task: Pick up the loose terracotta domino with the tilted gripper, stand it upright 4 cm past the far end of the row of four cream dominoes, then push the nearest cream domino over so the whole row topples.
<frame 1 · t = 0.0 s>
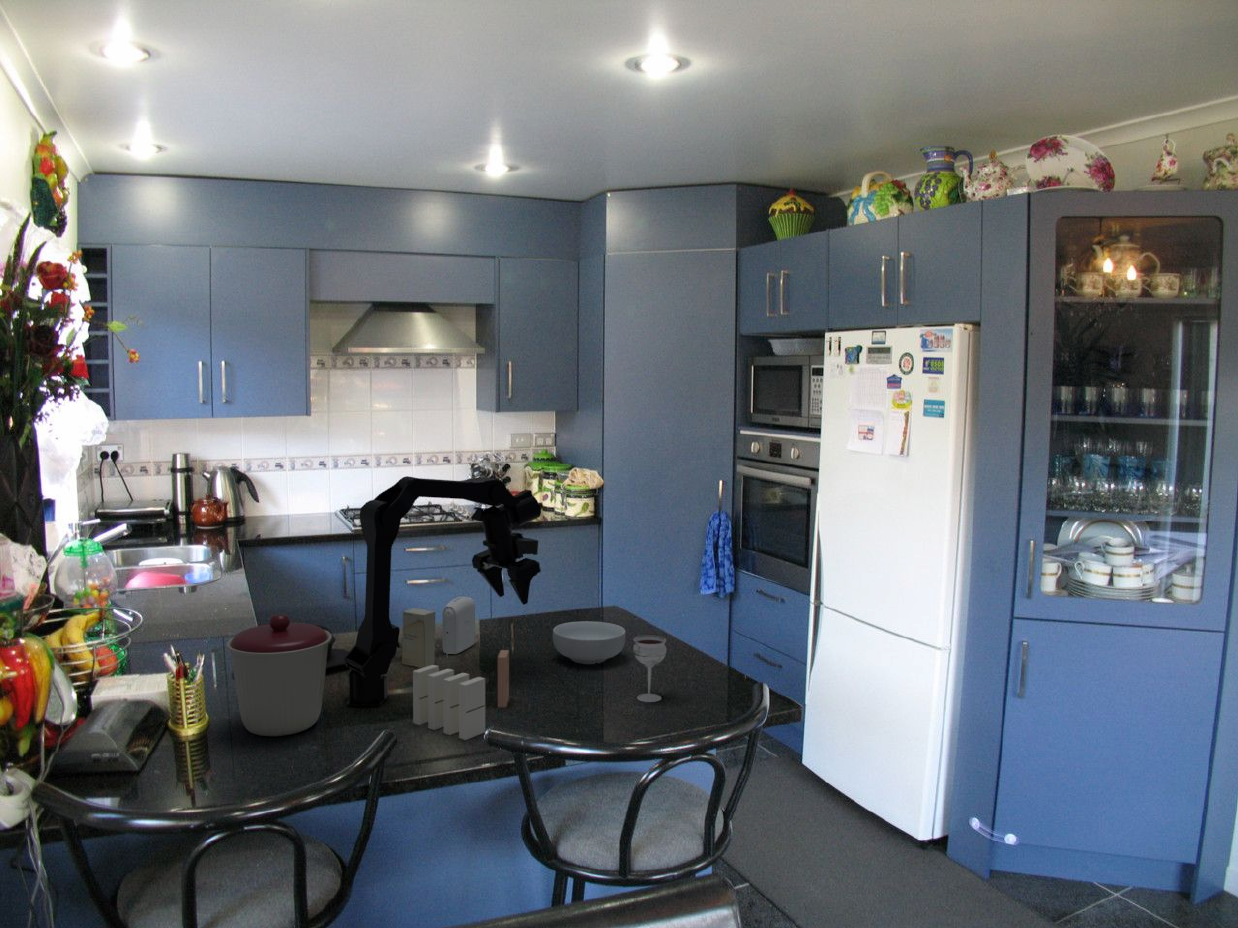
hand: (513, 599, 210), 15 cm above the table, tool pointing down, fingers open, 9 cm apart
canister: (281, 727, 175), on the table
domino 2: (441, 725, 177), on the table
skincare box: (419, 664, 214), on the table
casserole: (295, 670, 209), on the table
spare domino: (503, 702, 189), on the table
photo printer: (459, 649, 226), on the table
cereal bowl: (589, 660, 219), on the table
domino 3: (456, 729, 175), on the table
domino 4: (472, 734, 172), on the table
domino 1: (426, 720, 179), on the table
wineglass: (649, 698, 193), on the table
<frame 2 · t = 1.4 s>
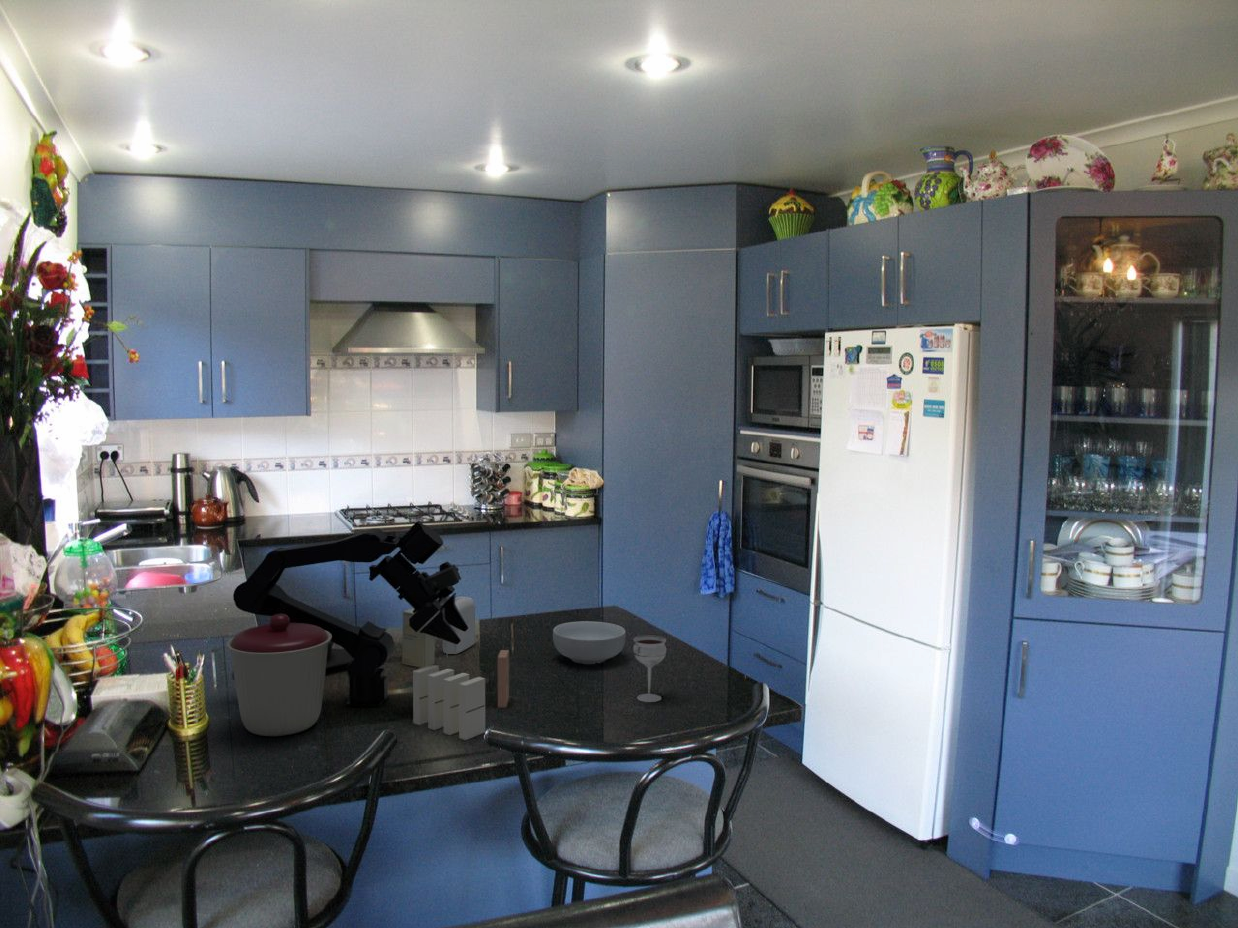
hand: (463, 636, 188), 13 cm above the table, tool tilted 45°, fingers open, 9 cm apart
nothing on the table moved.
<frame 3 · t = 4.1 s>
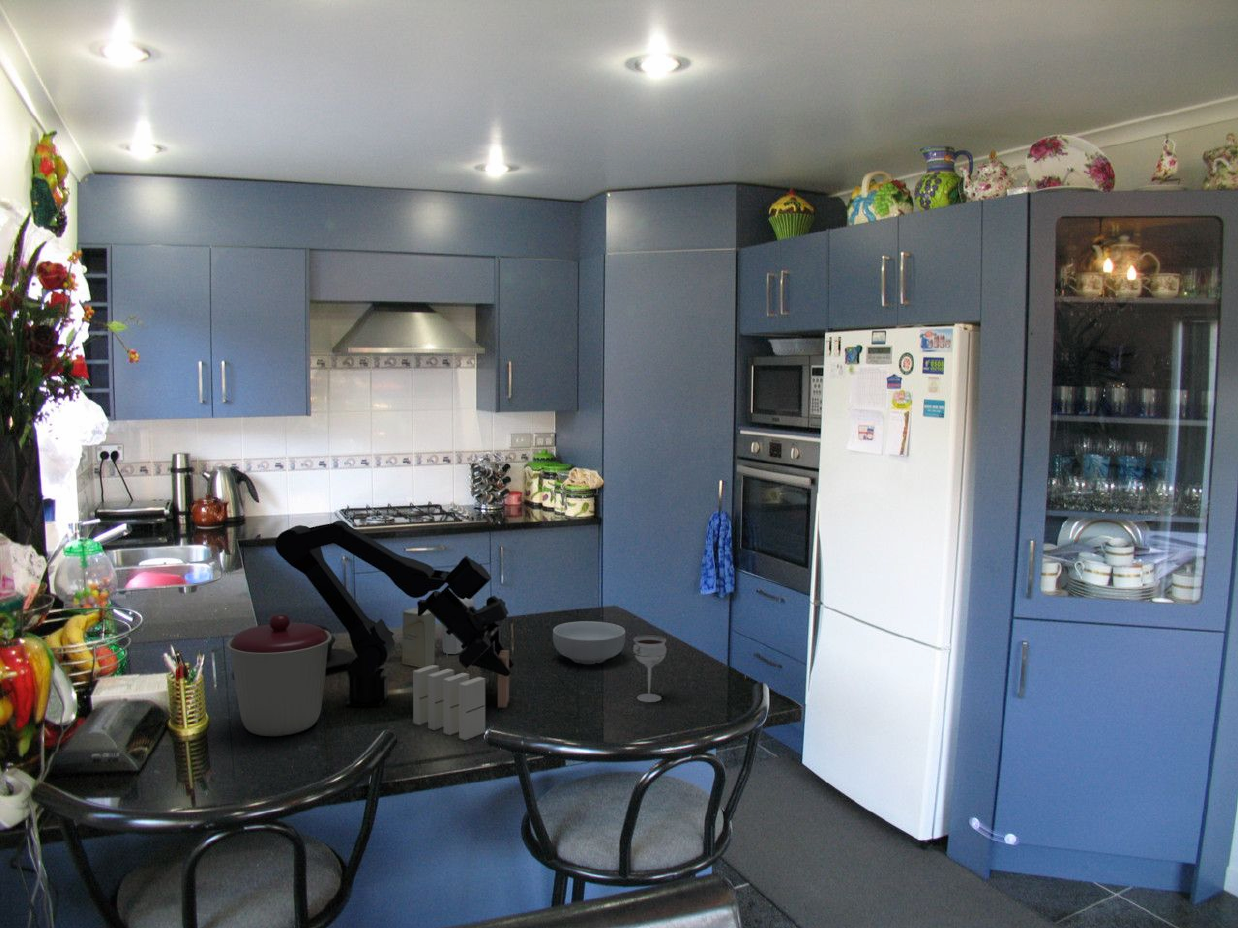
hand: (510, 670, 189), 7 cm above the table, tool tilted 45°, fingers closed on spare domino, 5 cm apart
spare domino: (503, 702, 189), on the table, touching gripper
everything else where it was.
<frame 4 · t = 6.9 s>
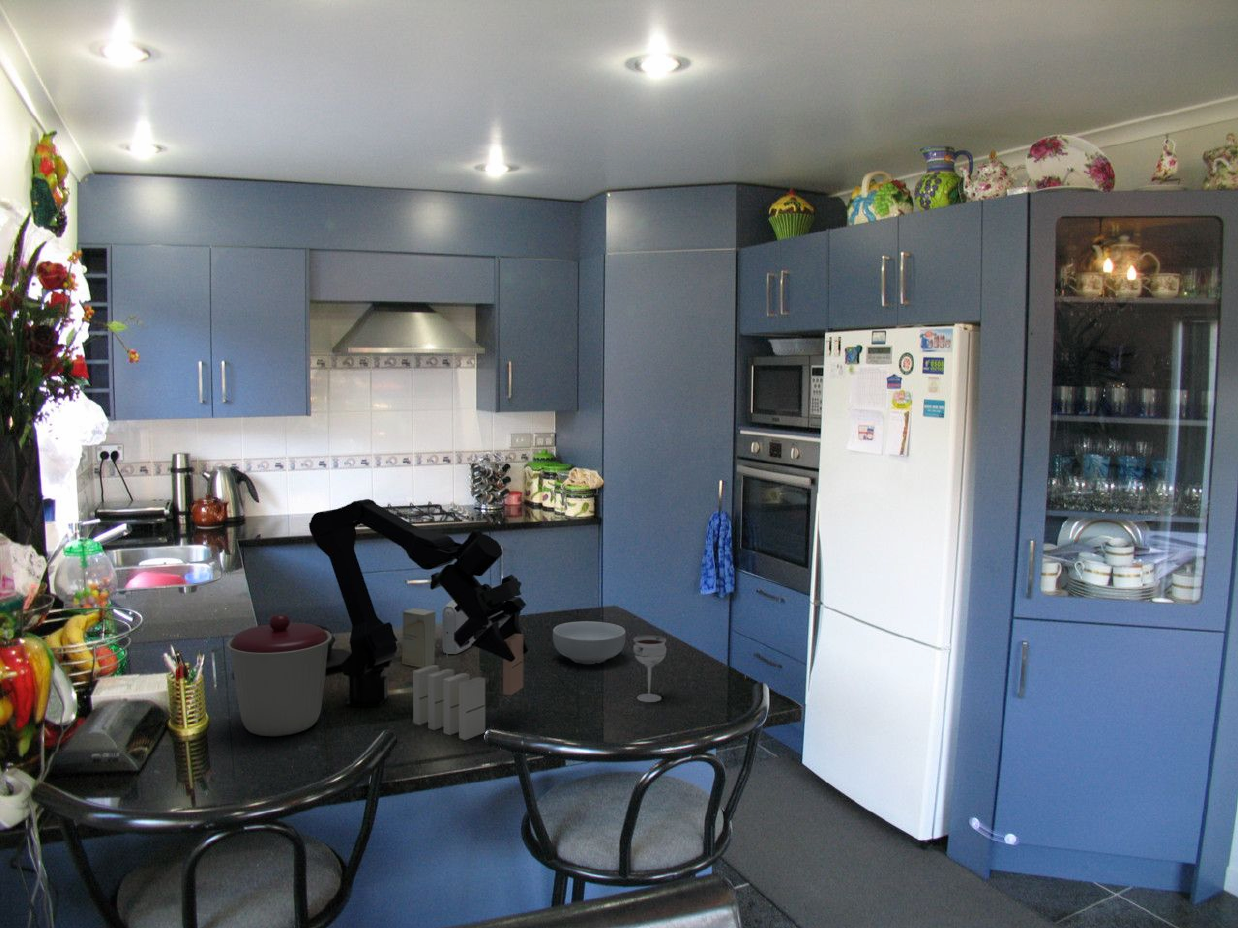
hand: (520, 656, 174), 14 cm above the table, tool tilted 45°, fingers closed on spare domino, 5 cm apart
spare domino: (513, 690, 175), point 7 cm above the table, touching gripper
everything else where it was.
when the fingers open (8 cm above the table, at t = 9.5 s): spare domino stays where it is, on the table.
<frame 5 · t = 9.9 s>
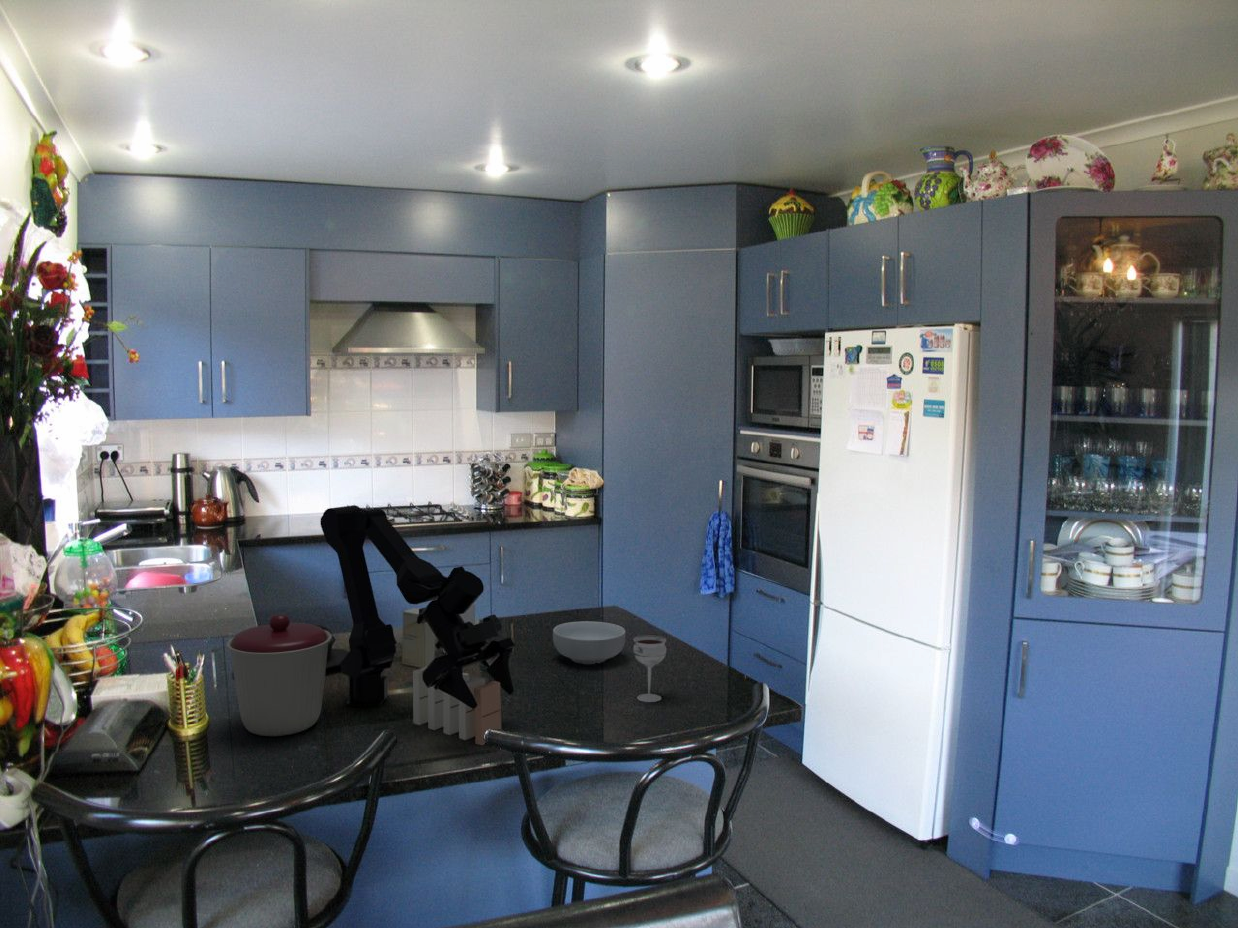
hand: (494, 700, 168), 8 cm above the table, tool tilted 45°, fingers open, 9 cm apart
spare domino: (488, 740, 170), on the table
everything else where it was.
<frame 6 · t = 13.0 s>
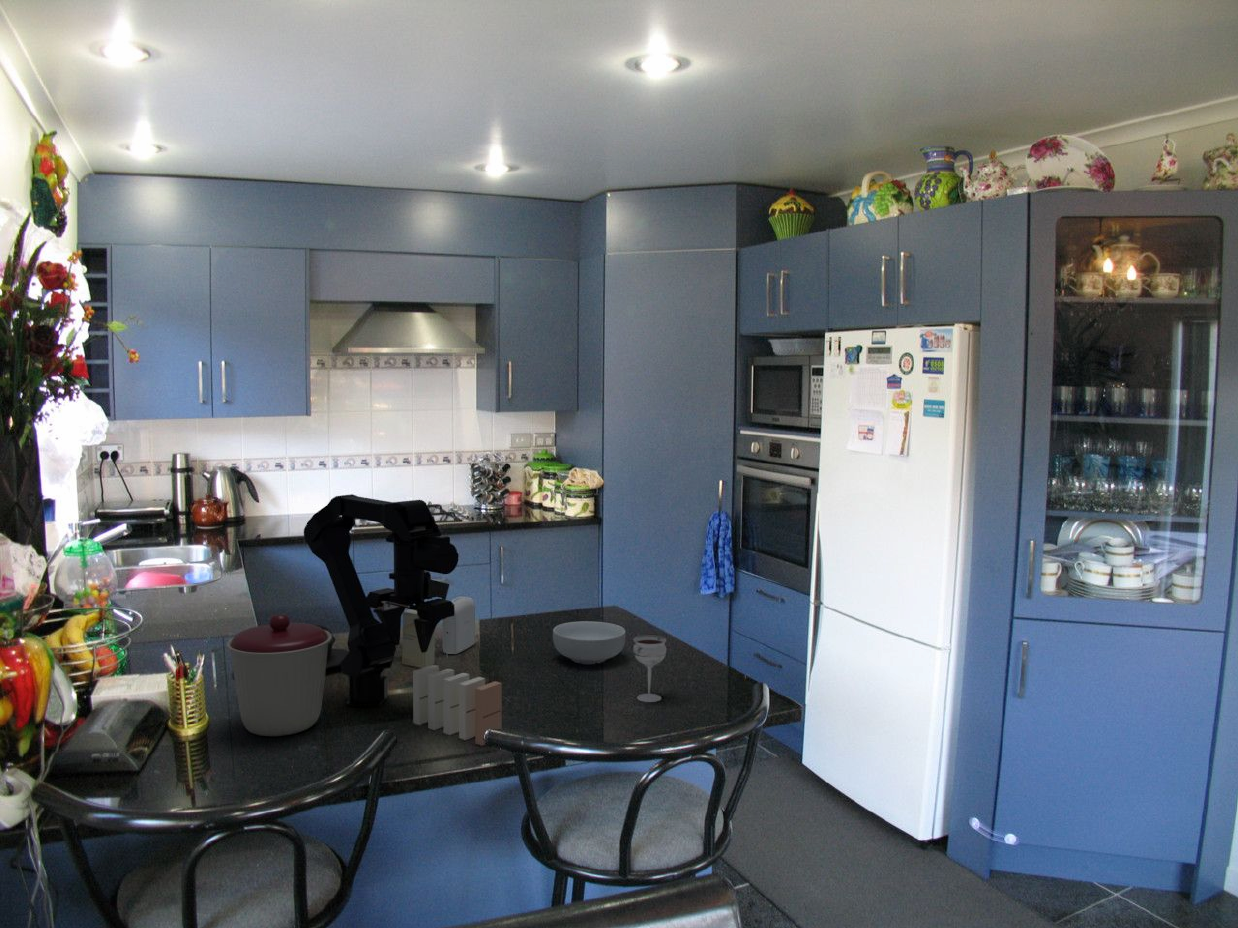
hand: (410, 648, 181), 13 cm above the table, tool pointing down, fingers open, 7 cm apart
nothing on the table moved.
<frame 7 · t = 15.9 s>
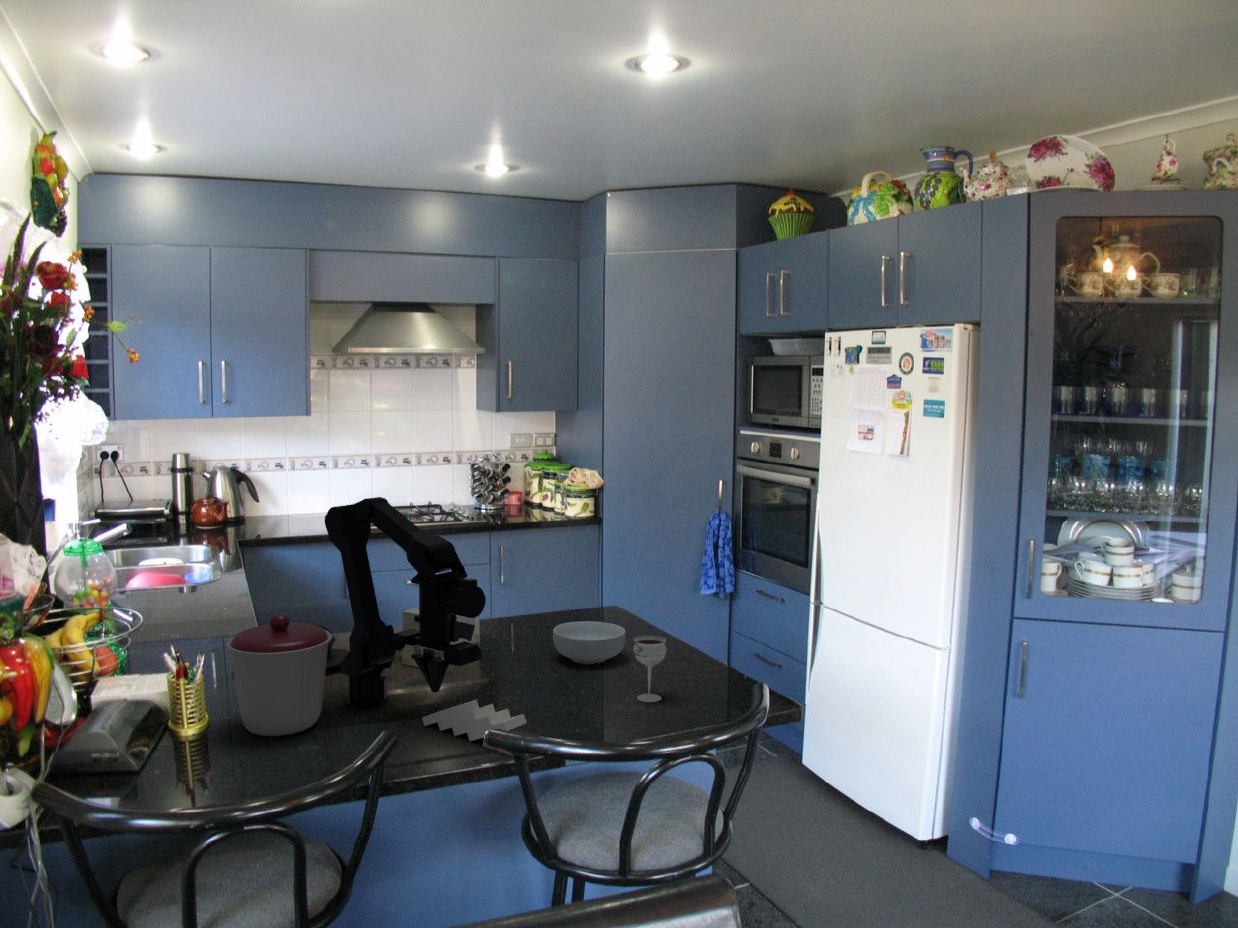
hand: (435, 691, 177), 6 cm above the table, tool pointing down, fingers closed
domino 2: (449, 722, 176), point 1 cm above the table, tilted 65°, touching domino 1, domino 3
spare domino: (492, 737, 169), point 1 cm above the table, tilted 90°, touching domino 4
domino 3: (463, 727, 174), point 1 cm above the table, tilted 66°, touching domino 2, domino 4
domino 4: (478, 732, 171), point 1 cm above the table, tilted 66°, touching domino 3, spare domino
domino 1: (433, 717, 178), point 1 cm above the table, tilted 66°, touching domino 2
everything else where it was.
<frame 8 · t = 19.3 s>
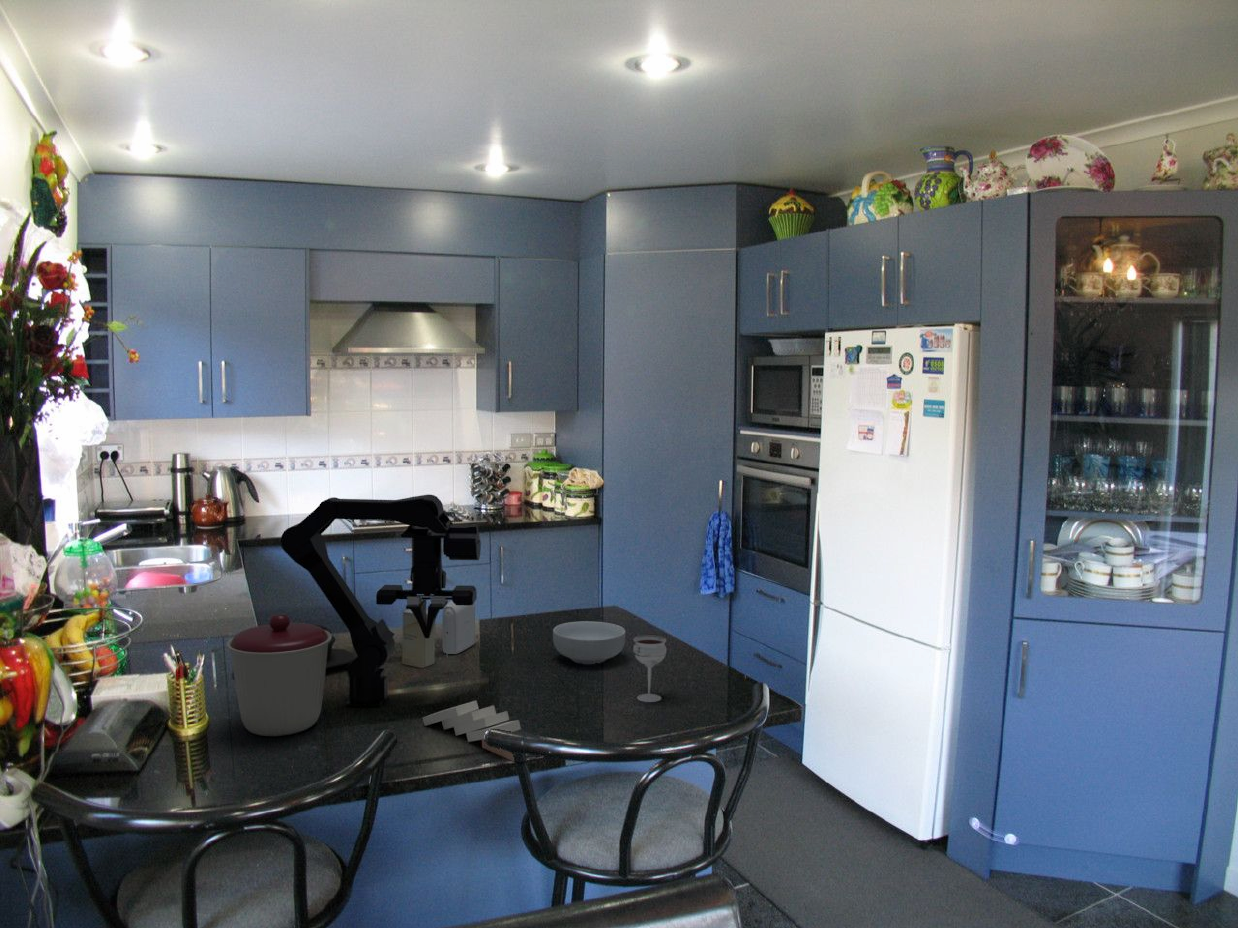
hand: (427, 637, 188), 13 cm above the table, tool pointing down, fingers closed
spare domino: (493, 739, 168), point 1 cm above the table, tilted 90°
domino 4: (479, 733, 171), point 1 cm above the table, tilted 68°, touching domino 3
at the end: domino 4 tilted 68°; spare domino tilted 90°; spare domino 3.7 cm from the domino 4 (horizontally) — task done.
